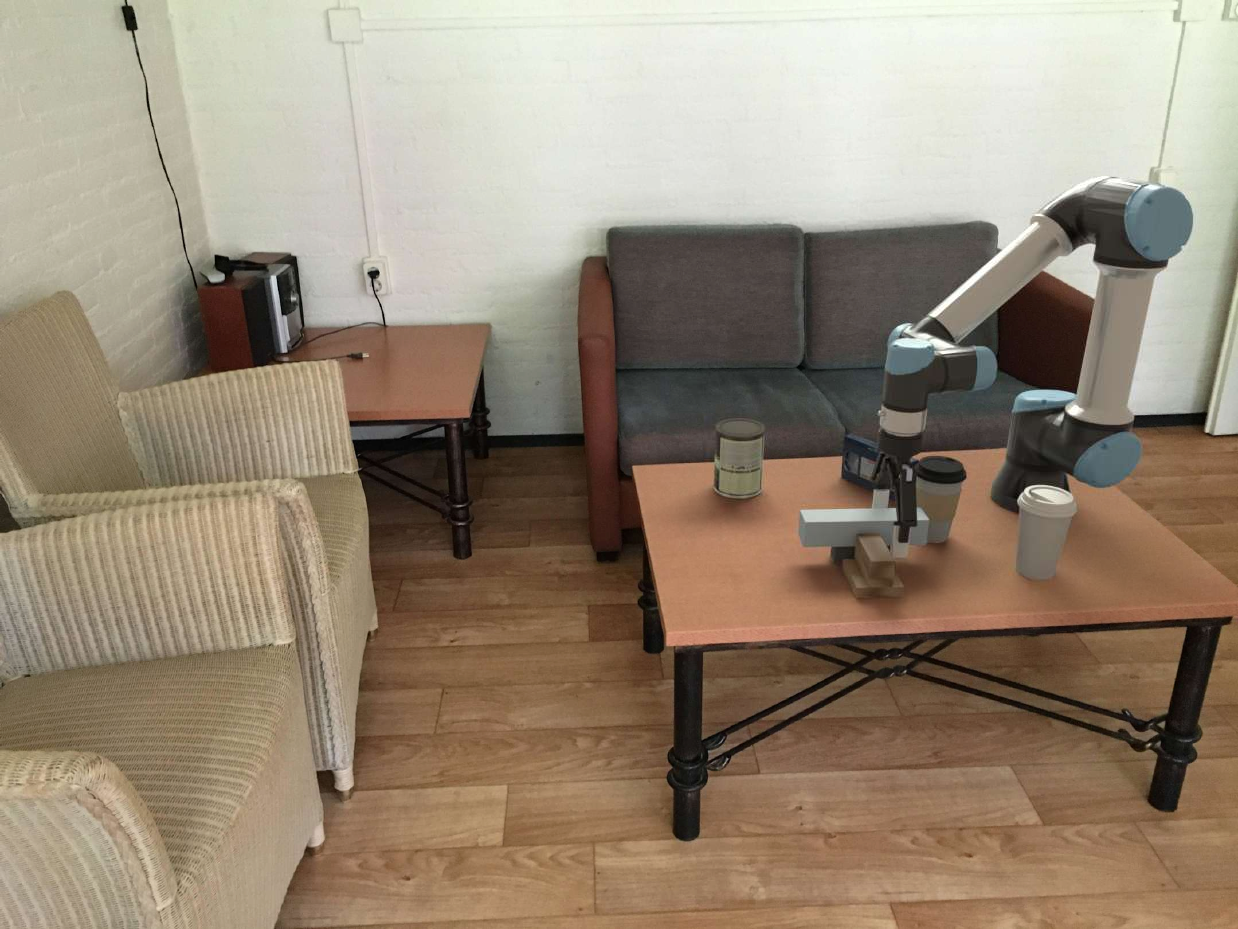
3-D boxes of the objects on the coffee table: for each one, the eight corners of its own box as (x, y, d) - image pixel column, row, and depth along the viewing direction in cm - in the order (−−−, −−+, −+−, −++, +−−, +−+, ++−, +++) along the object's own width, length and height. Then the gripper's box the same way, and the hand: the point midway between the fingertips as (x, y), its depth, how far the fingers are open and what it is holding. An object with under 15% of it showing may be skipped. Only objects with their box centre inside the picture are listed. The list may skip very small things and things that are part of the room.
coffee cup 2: (997, 558, 178) (1009, 483, 172) (1048, 557, 179) (1062, 482, 173) (1020, 585, 169) (1034, 507, 163) (1074, 583, 170) (1089, 505, 164)
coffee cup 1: (960, 530, 189) (971, 458, 183) (954, 551, 181) (964, 477, 175) (910, 521, 192) (919, 450, 186) (901, 541, 185) (910, 468, 179)
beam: (917, 532, 179) (920, 507, 177) (926, 545, 175) (929, 519, 173) (798, 534, 179) (799, 509, 177) (803, 547, 174) (805, 522, 172)
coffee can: (703, 485, 209) (705, 424, 203) (741, 475, 214) (744, 414, 208) (733, 503, 201) (735, 439, 195) (772, 491, 206) (775, 429, 200)
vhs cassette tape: (839, 477, 212) (843, 435, 208) (849, 474, 214) (853, 432, 210) (904, 508, 198) (910, 463, 194) (914, 504, 199) (920, 459, 196)
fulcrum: (886, 568, 175) (890, 533, 173) (902, 597, 166) (907, 560, 163) (842, 569, 175) (845, 534, 172) (855, 598, 166) (859, 561, 163)
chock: (884, 554, 180) (886, 535, 178) (888, 562, 177) (891, 543, 176) (830, 555, 180) (832, 536, 178) (834, 563, 177) (835, 544, 175)
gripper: (861, 404, 180) (850, 508, 188) (900, 457, 157) (886, 572, 165) (901, 404, 180) (889, 508, 188) (947, 456, 157) (930, 572, 166)
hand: (888, 538), depth 177 cm, fingers open, 13 cm apart
